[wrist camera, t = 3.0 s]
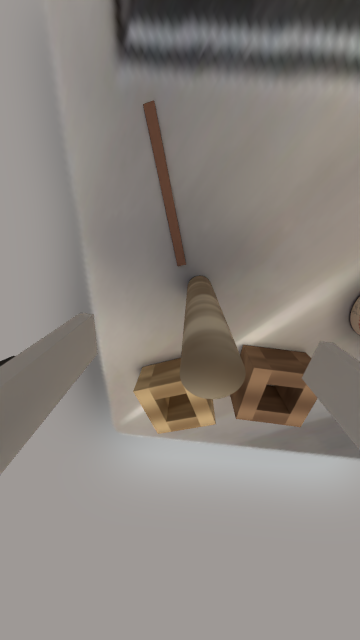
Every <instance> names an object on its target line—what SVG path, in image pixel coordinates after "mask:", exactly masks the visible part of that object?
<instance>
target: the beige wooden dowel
mask: <svg viewBox="0 0 360 640" xmlns="http://www.w3.org/2000/svg"><path fill="white" fill-rule="evenodd" d="M245 375H246V371H245V366H244V364H243V361H242V359H241V356H240V354H239V352H238V349H237V347H236V344H235V342H234V339H233V337H232V334H231V332H230V329H229V327H228V325H227V322H226V320H225V317H224V315H223V312H222V310H221V307H220V305H219V303H218V300H217V298H216V295H215V293H214V290H213V288H212V285H211V283H210V281H209V280H208V279H207V278H206V277H204V276H196V277H193V278H192V279H191V280H190V281H189V283H188V287H187V298H186V309H185V320H184V331H183V342H182V353H181V364H180V379H181V382H182V384H183V386H184V387H185V388H186V389H187V390H188V391H189V392H190V393H192V394H193V395H195V396H198V397H201V398H205V399H219V398H223V397H226V396H229V395H231V394H233V393H234V392H236V391H237V390H238V389H239V388H240V387H241V385H242V384H243V382H244V380H245Z"/></svg>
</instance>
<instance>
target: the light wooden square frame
mask: <svg viewBox="0 0 360 640" xmlns="http://www.w3.org/2000/svg"><path fill="white" fill-rule="evenodd" d="M180 364H181V358H178V359H174V360H170V361H166V362H162V363H158V364H153V365H149V366H145V367H142V370H141V373H140V375H139V378H138V381H137V383H136V386H135V388H134V391H133V392H134V393H135V395H136V397H137V399H138V400H139V402H140V404H141V405H142V407H143V409H144V411H145V412H146V414H147V416H148V417H149V419H150V421H151V423H152V424H153V426H154V428H155V429H156V431H157V433H158V434H160V433H166V432H172V431H178V430H184V429H190V428H196V427H202V426H208V425H214V424H216V422H215V414H214V406H213V399H205V398H201V397H198V396H195V395H193V394H192V393H190V392H189V391H188V390H187V389H186V388H185V387H184V386H183V384H182V382H181V379H180Z"/></svg>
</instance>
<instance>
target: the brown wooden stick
mask: <svg viewBox="0 0 360 640" xmlns="http://www.w3.org/2000/svg"><path fill="white" fill-rule="evenodd" d="M143 106H144V111H145V116H146V120H147V125H148V130H149V134H150V139H151V144H152V148H153V153H154V158H155V162H156V167H157V172H158V176H159V181H160V186H161V190H162V195H163V200H164V204H165V209H166V214H167V218H168V223H169V228H170V232H171V237H172V242H173V246H174V251H175V256H176V260H177V265H178V266H181V265H186V262H185V257H184V251H183V246H182V241H181V236H180V231H179V226H178V221H177V216H176V210H175V205H174V200H173V195H172V190H171V185H170V180H169V175H168V169H167V164H166V159H165V154H164V149H163V144H162V139H161V134H160V128H159V123H158V118H157V113H156V108H155V103H154V101H151V102H148V103H145V104H143Z"/></svg>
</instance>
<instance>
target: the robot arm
mask: <svg viewBox="0 0 360 640" xmlns="http://www.w3.org/2000/svg"><path fill="white" fill-rule="evenodd" d="M97 354H98V353H97V343H96V332H95V322H94V314H87V313H79V314H78V315H76V316H75V317H73V318H72V319H70V320H69V321H67V322H66V323H65V324H63V325H62V326H60V327H59V328H57V329H56V330H54V331H53V332H51V333H50V334H48V335H47V336H45V337H44V338H42V339H41V340H39V341H38V342H36V343H35V344H33V345H32V346H30V347H29V348H27V349H26V350H24V351H23V352H21V353H20V354H18V355H17V356H12V357H9V358H7V359H5V360H2V361H0V475H1V473H2V472H3V471H4V470H5V468H6V467H7V466H8V465H9V463H10V462H11V461H12V460H13V459H14V457H15V456H16V455H17V454H18V452H19V451H20V450H21V448H22V447H23V446H24V445H25V443H26V442H27V441H28V440H29V439H30V437H31V436H32V435H33V434H34V432H35V431H36V430H37V428H38V427H39V426H40V425H41V424H42V422H43V421H44V420H45V419H46V418H47V416H48V415H49V414H50V412H51V411H52V410H53V409H54V407H55V406H56V405H57V404H58V402H59V401H60V400H61V399H62V398H63V396H64V395H65V394H66V393H67V391H68V390H69V389H70V388H71V386H72V385H73V384H74V382H75V381H76V380H77V379H78V378H79V376H80V375H81V374H82V373H83V371H84V370H85V369H86V368H87V366H88V365H89V364H90V363H91V362H92V360H93V359H94V358H95V357H96V355H97ZM302 379H303V380H304V382H305V383H306V384H307V385H308V387H309V388H310V389H311V390H312V392H313V393H314V394H315V395H316V397H317V398H318V399H319V400H320V402H321V403H322V404H323V405H324V406H325V408H326V409H327V410H328V411H329V413H330V414H331V415H332V416H333V418H334V419H335V420H336V421H337V423H338V424H339V425H340V426H341V428H342V429H343V430H344V431H345V432H346V434H347V435H348V436H349V437H350V439H351V440H352V441H353V442H354V444H355V445H356V446H357V447H358V449H359V450H360V362H359V361H358V360H357V359H355V358H354V357H352V356H351V355H350V354H348V353H347V352H345V351H344V350H343V349H341V348H340V347H338V346H337V345H336V344H334V343H331V342H322V341H320V343H319V345H318V347H317V349H316V351H315V353H314V355H313V357H312V359H311V361H310V363H309V365H308V367H307V369H306V371H305V373H304V375H303V377H302Z"/></svg>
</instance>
